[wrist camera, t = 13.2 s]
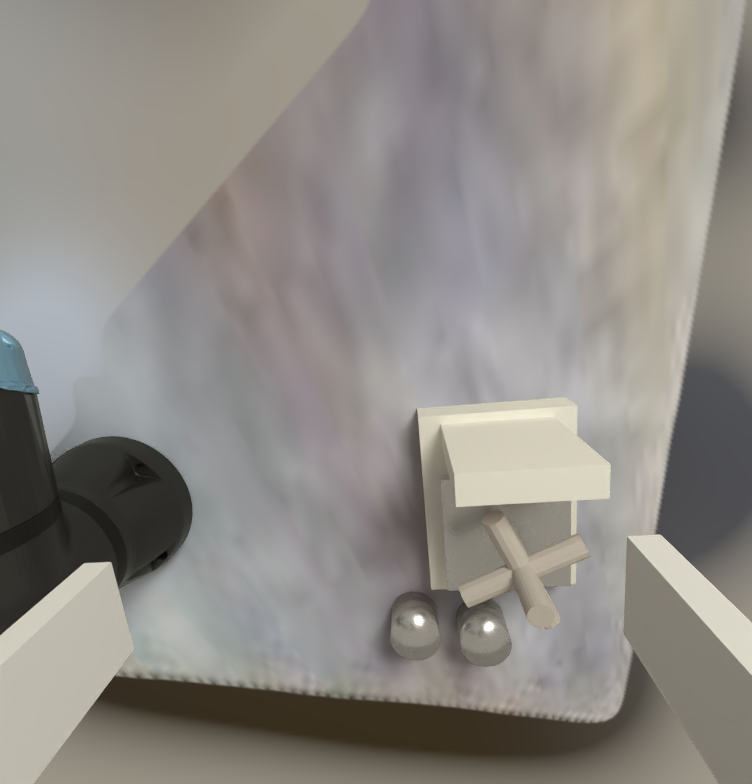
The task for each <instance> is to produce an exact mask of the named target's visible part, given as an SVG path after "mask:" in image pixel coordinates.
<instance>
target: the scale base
mask: <svg viewBox="0 0 752 784" xmlns="http://www.w3.org/2000/svg"><path fill="white" fill-rule="evenodd" d="M417 414H418V426H419V439H420V452H421V465H422V478H423V491H424V504H425V517H426V530H427V543H428V556H429V569H430V580H431V590H438V589H448V587H447V576H446V561H445V546H444V531H443V517H442V502H441V487H440V476H445V475H449V479H450V483H451V487H452V492H453V496H454V500H455V504H456V507H466V506H484V505H502V504H520V503H537V502H555V501H571V536H572V535H574V534H576V505H577V500H590V499H608V498H610V464H609V463H608V462H607V461H606V460H605V459H604V458H602V457H601V456H600V455H599V454H598V453H597V452H595V451H594V450H593V449H592V448H591V447H590V446H588V445H587V444H586V443H585V442H584V441H583V440H581V439H580V438H579V437H578V436H577V405H576V404H574V403H573V402H571V401H570V400H568V399H567V398H565V397H563V398H550V399H536V400H523V401H510V402H497V403H483V404H470V405H457V406H444V407H430V408H417ZM571 584H576V563H574V564H572V565H571Z"/></svg>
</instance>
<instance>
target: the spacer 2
mask: <svg viewBox="0 0 752 784" xmlns="http://www.w3.org/2000/svg"><path fill="white" fill-rule="evenodd" d="M456 619H457V625H458V632H459V638H460V644H461V650H462V653H463V655H464V656H465V658H466V659H467V660H468V661H470V662H471V663H473V664H475V665H478V666H484V667H488V666H494V665H497V664H500V663H501V662H503V661H504V660H505V659H506V658H507V657H508V656H509V654H510V652H511V647H512V644H511V639H510V636H509V633H508V629H507V626H506V623H505V620H504V616H503V613H502V610H501V608H500V607H499V605H498V604H497V603H496V602H494V601H493V600H491V599H489V600H487V601H484V602H482V603H479V604H477V605H475V606H472V607H470V608H468V607H467V606H466V604H465V602H464V603H463V604H462V605H461V606H460V607H459V609H458V611H457V615H456Z"/></svg>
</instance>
